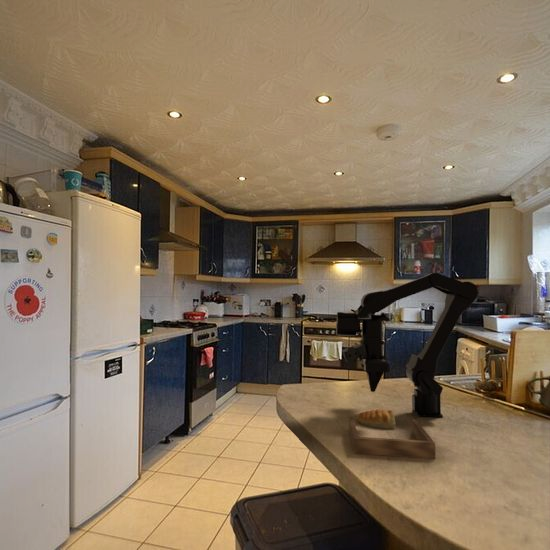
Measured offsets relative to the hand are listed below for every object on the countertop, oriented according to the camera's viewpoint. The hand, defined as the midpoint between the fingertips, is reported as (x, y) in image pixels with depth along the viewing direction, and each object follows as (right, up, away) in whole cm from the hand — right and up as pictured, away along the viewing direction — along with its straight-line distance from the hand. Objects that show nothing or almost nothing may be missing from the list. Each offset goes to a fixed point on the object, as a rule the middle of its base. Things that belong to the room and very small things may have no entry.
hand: (372, 391), depth 102 cm
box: (-3, -4, -22) cm, 23 cm away
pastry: (-1, -5, -11) cm, 12 cm away
